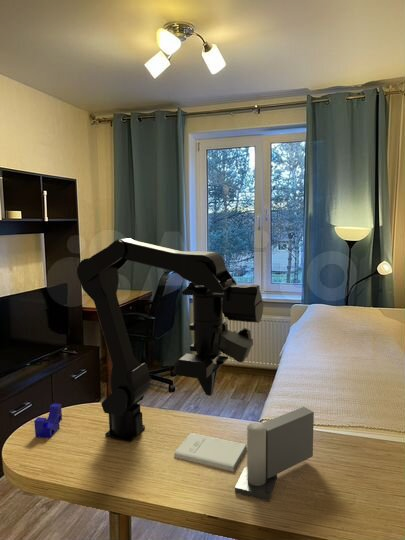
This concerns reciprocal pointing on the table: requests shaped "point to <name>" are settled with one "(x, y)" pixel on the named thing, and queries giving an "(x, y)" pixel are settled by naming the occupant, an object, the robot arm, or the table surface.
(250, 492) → the arm mount
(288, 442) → the swing arm
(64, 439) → the table surface
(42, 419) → the cable holder
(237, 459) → the external hard drive
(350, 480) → the table surface
